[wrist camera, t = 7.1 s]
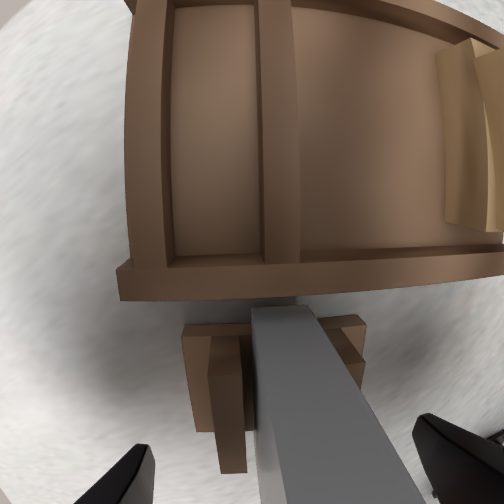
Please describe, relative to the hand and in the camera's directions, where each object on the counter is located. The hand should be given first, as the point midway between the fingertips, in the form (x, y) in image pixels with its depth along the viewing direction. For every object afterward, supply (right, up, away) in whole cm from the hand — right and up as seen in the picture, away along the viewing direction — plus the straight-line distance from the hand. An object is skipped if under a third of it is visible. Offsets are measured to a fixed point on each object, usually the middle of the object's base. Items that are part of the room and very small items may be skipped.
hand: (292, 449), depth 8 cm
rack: (+2, +11, +2) cm, 11 cm away
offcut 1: (+8, +11, +2) cm, 14 cm away
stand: (0, +1, +4) cm, 4 cm away
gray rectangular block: (0, +1, +3) cm, 4 cm away
